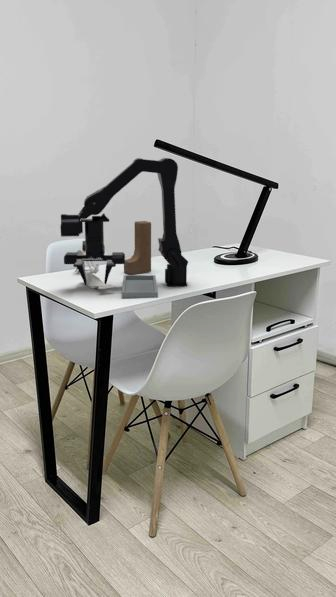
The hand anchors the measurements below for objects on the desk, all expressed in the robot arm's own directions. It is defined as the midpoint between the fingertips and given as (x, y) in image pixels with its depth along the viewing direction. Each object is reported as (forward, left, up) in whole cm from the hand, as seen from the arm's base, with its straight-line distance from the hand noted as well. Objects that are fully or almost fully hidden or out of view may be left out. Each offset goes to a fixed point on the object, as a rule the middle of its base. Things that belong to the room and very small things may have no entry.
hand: (95, 284), depth 177 cm
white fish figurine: (0, 0, -1) cm, 1 cm away
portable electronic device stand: (+5, -26, -1) cm, 27 cm away
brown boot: (-13, -22, -1) cm, 26 cm away
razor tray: (-14, +2, -1) cm, 14 cm away
